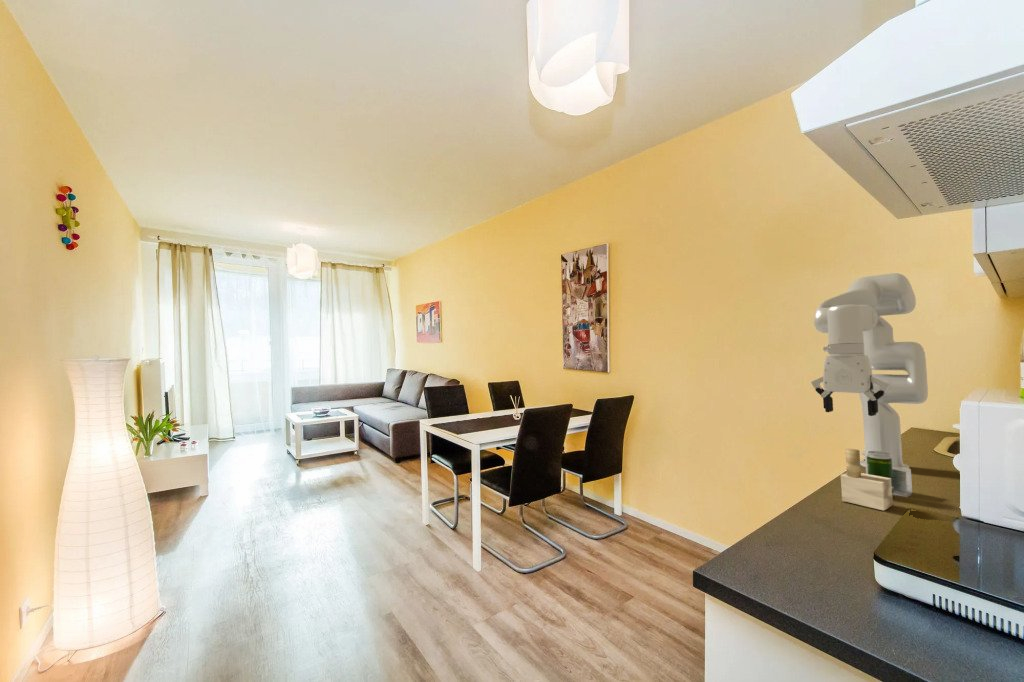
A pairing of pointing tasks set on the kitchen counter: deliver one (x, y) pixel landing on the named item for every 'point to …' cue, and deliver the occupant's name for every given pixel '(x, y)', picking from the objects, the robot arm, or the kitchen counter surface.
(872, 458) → the beer can
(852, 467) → the wooden block with peg
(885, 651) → the kitchen counter surface
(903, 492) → the grey box
